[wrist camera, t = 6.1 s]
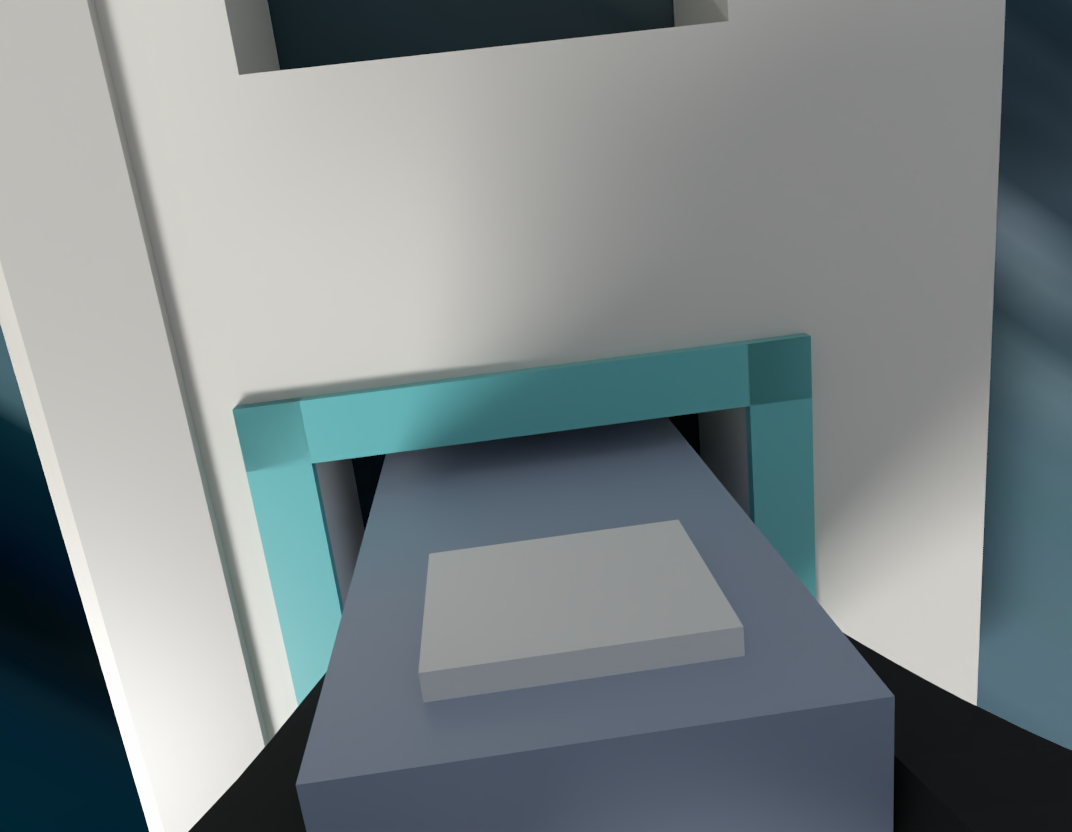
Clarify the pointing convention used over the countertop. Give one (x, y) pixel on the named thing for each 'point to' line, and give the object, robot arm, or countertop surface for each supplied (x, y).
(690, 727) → the plug
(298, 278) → the panel
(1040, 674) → the countertop surface
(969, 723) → the robot arm
